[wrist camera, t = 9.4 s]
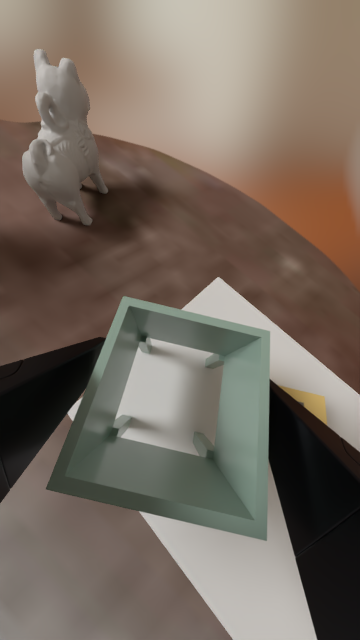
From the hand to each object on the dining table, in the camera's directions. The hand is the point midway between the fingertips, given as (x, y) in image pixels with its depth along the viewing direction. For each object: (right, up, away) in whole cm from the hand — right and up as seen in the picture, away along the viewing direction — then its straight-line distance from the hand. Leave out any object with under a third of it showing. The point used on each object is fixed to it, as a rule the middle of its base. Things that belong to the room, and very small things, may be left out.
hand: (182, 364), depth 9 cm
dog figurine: (-14, +19, +15) cm, 28 cm away
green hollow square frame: (-1, -4, +6) cm, 8 cm away
